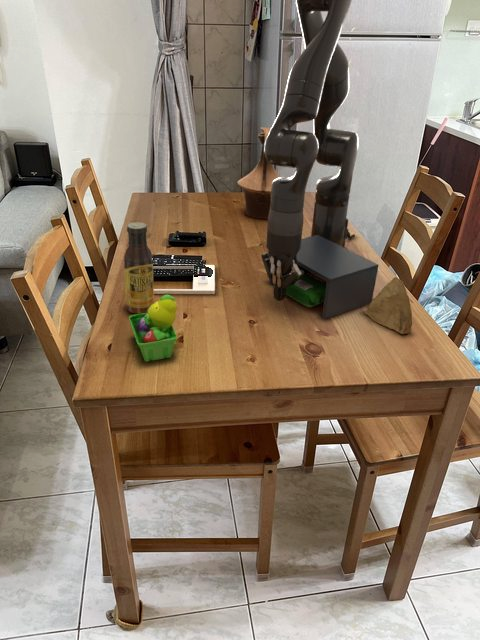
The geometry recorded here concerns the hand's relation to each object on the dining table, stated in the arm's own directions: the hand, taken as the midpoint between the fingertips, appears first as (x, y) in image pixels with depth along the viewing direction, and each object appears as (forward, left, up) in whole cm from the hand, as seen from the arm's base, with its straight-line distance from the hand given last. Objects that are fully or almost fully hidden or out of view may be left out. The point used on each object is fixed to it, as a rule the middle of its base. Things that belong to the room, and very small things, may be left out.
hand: (279, 298), depth 118 cm
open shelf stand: (-13, 0, -2) cm, 13 cm away
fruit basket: (+32, +1, -2) cm, 32 cm away
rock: (-16, +19, -2) cm, 25 cm away
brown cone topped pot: (-34, -54, -2) cm, 64 cm away
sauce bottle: (+28, -15, -2) cm, 32 cm away
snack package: (-7, 0, -2) cm, 8 cm away
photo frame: (+14, -23, -2) cm, 27 cm away
